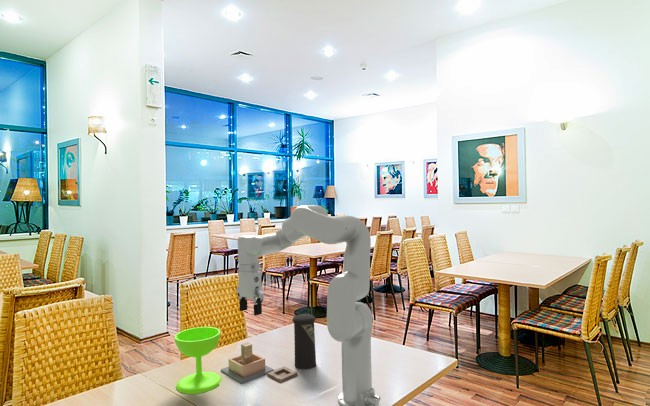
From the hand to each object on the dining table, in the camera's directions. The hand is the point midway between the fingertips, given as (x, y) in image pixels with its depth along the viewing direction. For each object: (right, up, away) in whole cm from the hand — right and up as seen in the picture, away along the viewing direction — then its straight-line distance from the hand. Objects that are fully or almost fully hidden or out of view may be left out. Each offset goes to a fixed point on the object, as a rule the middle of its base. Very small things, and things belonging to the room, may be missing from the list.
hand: (250, 312), depth 154 cm
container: (+21, -23, +4) cm, 31 cm away
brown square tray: (+13, -23, -5) cm, 26 cm away
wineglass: (-17, -24, -8) cm, 30 cm away
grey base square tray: (-1, -23, 0) cm, 23 cm away
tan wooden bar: (-1, -21, 0) cm, 21 cm away
